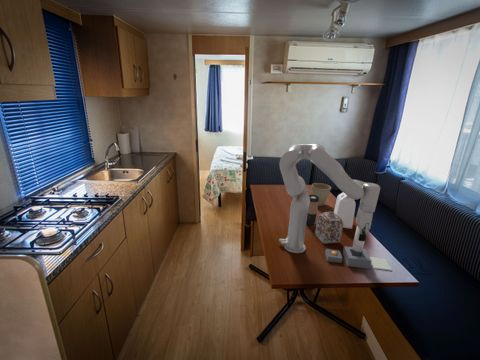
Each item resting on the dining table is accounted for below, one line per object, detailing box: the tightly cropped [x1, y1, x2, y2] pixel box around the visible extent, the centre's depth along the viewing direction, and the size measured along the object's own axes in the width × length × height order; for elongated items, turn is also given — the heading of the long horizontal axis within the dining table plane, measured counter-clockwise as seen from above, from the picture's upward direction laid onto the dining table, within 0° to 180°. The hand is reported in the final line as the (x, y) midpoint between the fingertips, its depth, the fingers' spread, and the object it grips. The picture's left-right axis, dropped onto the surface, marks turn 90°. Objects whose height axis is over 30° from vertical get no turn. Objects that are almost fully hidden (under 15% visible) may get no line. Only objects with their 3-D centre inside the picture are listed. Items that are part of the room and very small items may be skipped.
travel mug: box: [306, 194, 319, 226], centre depth 181 cm, size 8×8×20 cm
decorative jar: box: [314, 211, 343, 245], centre depth 162 cm, size 12×12×18 cm
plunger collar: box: [324, 248, 344, 264], centre depth 145 cm, size 8×8×3 cm
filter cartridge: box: [351, 225, 366, 252], centre depth 139 cm, size 5×5×16 cm
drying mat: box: [369, 256, 393, 272], centre depth 142 cm, size 9×10×1 cm
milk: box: [333, 192, 357, 229], centre depth 182 cm, size 12×12×26 cm
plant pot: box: [311, 182, 332, 207], centre depth 215 cm, size 15×15×16 cm
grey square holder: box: [342, 245, 372, 269], centre depth 143 cm, size 11×11×5 cm
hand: (359, 237), depth 139 cm, fingers closed on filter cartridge, 5 cm apart
